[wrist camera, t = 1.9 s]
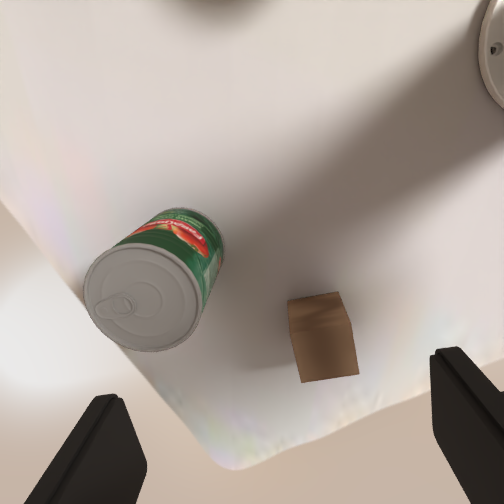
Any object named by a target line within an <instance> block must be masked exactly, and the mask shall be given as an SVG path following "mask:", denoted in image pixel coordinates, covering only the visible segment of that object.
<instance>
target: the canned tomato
mask: <svg viewBox="0 0 504 504" xmlns="http://www.w3.org/2000/svg"><path fill="white" fill-rule="evenodd" d="M224 253H225V248H224V241H223V238H222V235H221V233H220V231H219V229H218V227H217V226H216V225H215V224H214V222H213V221H212V220H211V219H209V218H208V217H207V216H206V215H204V214H202V213H200V212H199V211H196V210H193V209H189V208H172V209H168V210H165V211H163V212H161V213H159V214H158V215H156V216H155V217H154V218H153V219H151V220H150V221H148V222H147V223H146V224H144V225H143V226H141V227H140V228H139V229H137V230H136V231H134V232H133V233H131V234H130V235H129V236H127V237H126V238H125V239H123V240H122V241H120V242H119V243H117V244H116V245H115V246H114V247H112V248H111V249H109V250H107V251H105V252H104V253H103V254H102V255H100V256H99V257H98V258H97V259H96V260H95V261H94V263H93V264H92V265H91V266H90V268H89V270H88V272H87V274H86V277H85V281H84V286H83V291H84V301H85V305H86V309H87V311H88V313H89V315H90V318H91V319H92V320H93V322H94V323H95V325H96V326H97V327H98V328H99V329H100V330H101V332H102V333H104V334H105V335H106V336H107V337H108V338H110V339H111V340H112V341H114V342H116V343H118V344H120V345H122V346H124V347H126V348H129V349H132V350H136V351H143V352H158V351H163V350H168V349H170V348H173V347H175V346H177V345H179V344H180V343H182V342H184V341H185V340H186V339H187V338H188V337H189V336H190V335H191V334H192V333H193V331H194V330H195V328H196V327H197V325H198V323H199V320H200V317H201V313H202V312H203V309H204V307H205V304H206V302H207V299H208V297H209V294H210V292H211V289H212V287H213V284H214V282H215V279H216V277H217V274H218V272H219V269H220V267H221V265H222V263H223V260H224Z"/></svg>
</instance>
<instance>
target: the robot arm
mask: <svg viewBox="0 0 504 504" xmlns="http://www.w3.org/2000/svg"><path fill="white" fill-rule="evenodd" d="M490 49H492V54H491V52H490ZM478 59H479V65H480V71H481V76H482V78H483V81H484V83H485V86H486V88H487V90H488V92H489V93H490V95H491V96H492V97H493V99H494V100H495V102H496V103H497V104H499V105H500V106H501V107H502V108H503V109H504V0H491V1H490V3H489V5H488V8H487V11H486V14H485V16H484V19H483V22H482V26H481V32H480V37H479V54H478ZM430 381H431V401H432V423H433V424H432V425H433V432H434V436H435V438H436V441H437V443H438V445H439V447H440V448H441V450H442V452H443V454H444V456H445V457H446V459H447V461H448V463H449V464H450V466H451V468H452V470H453V472H454V474H455V476H456V477H457V479H458V481H459V483H460V485H461V486H462V488H463V490H464V491H465V494H466V495H467V497H468V499H469V501H470V503H471V504H504V391H503V392H500V391H499V390H498V389H497V388H496V387H495V386H494V385H493V384H492V382H491V381H490V380H489V379H488V378H487V377H486V376H485V375H484V374H483V372H481V370H480V369H479V368H478V367H477V366H476V365H475V364H474V363H473V361H472V360H471V359H470V358H469V357H468V356H467V355H466V354H465V353H464V352H463V350H462V349H461V348H459V347H457V346H456V347H448V348H441V349H437V350H436V351H435V355H431V356H430ZM146 473H147V461H146V458H145V456H144V453H143V450H142V448H141V445H140V443H139V440H138V437H137V435H136V432H135V430H134V427H133V424H132V422H131V419H130V416H129V414H128V411H127V409H126V406H125V403H124V401H123V399H122V398H118V396H117V395H116V394H107V395H100V396H96V397H95V398H94V399H93V400H92V402H91V403H90V404H89V406H88V407H87V409H86V411H85V412H84V413H83V415H82V417H81V418H80V420H79V421H78V423H77V424H76V426H75V427H74V429H73V430H72V432H71V433H70V435H69V436H68V438H67V439H66V441H65V442H64V444H63V445H62V447H61V448H60V450H59V451H58V453H57V454H56V456H55V457H54V459H53V461H52V462H51V463H50V465H49V466H48V468H47V470H46V471H45V472H44V474H43V475H42V477H41V479H40V480H39V482H38V483H37V485H36V486H35V488H34V489H33V491H32V492H31V494H30V495H29V497H28V498H27V500H26V501H25V503H24V504H136V501H137V498H138V495H139V493H140V490H141V487H142V485H143V482H144V479H145V476H146Z"/></svg>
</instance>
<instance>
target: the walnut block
mask: <svg viewBox="0 0 504 504" xmlns="http://www.w3.org/2000/svg"><path fill="white" fill-rule="evenodd" d="M287 303H288V316H289V329H290V337H291V341H292V345H293V350H294V354H295V358H296V362H297V367H298V371H299V375H300V379H301V383H305V382H311V381H318V380H325V379H331V378H338V377H344V376H351V375H357V374H359V368H358V362H357V356H356V350H355V344H354V339H353V333H352V327H351V322H350V320H349V317H348V315H347V312H346V310H345V307H344V305H343V302H342V300H341V297H340V295H339V292H333V293H327V294H322V295H316V296H311V297H306V298H300V299H295V300H289V301H287Z"/></svg>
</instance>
